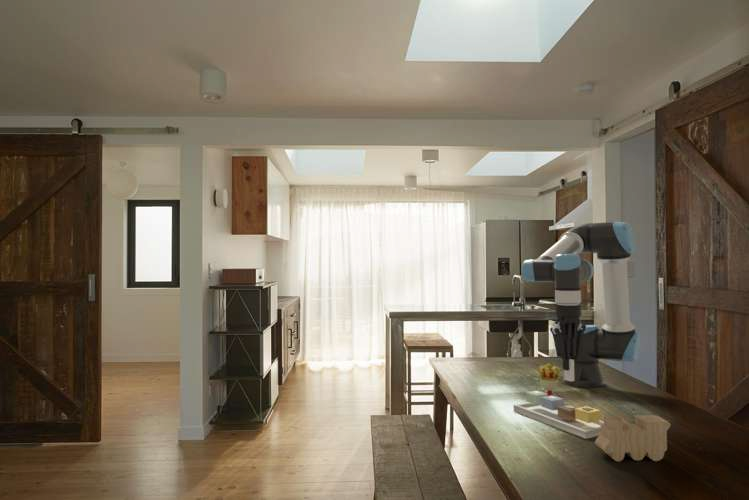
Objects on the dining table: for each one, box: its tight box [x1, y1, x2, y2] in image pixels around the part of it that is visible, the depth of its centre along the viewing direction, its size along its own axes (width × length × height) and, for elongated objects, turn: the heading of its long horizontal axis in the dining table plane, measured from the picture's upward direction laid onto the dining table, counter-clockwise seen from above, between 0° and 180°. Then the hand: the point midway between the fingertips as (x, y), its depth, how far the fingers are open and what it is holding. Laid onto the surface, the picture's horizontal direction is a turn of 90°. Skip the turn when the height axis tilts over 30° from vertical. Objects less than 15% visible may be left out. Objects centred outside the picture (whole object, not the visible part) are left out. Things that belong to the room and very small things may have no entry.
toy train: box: [594, 414, 672, 462], centre depth 135 cm, size 6×17×10 cm, turn 91°
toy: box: [537, 363, 561, 396], centre depth 186 cm, size 7×7×15 cm
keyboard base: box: [513, 402, 604, 440], centre depth 164 cm, size 12×30×2 cm, turn 26°
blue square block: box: [541, 394, 565, 410], centre depth 168 cm, size 5×5×3 cm
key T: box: [558, 404, 579, 421], centre depth 161 cm, size 5×5×3 cm
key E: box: [525, 390, 548, 405], centre depth 174 cm, size 5×5×3 cm
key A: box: [575, 405, 601, 423], centre depth 155 cm, size 5×5×3 cm
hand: (569, 380), depth 162 cm, fingers closed
